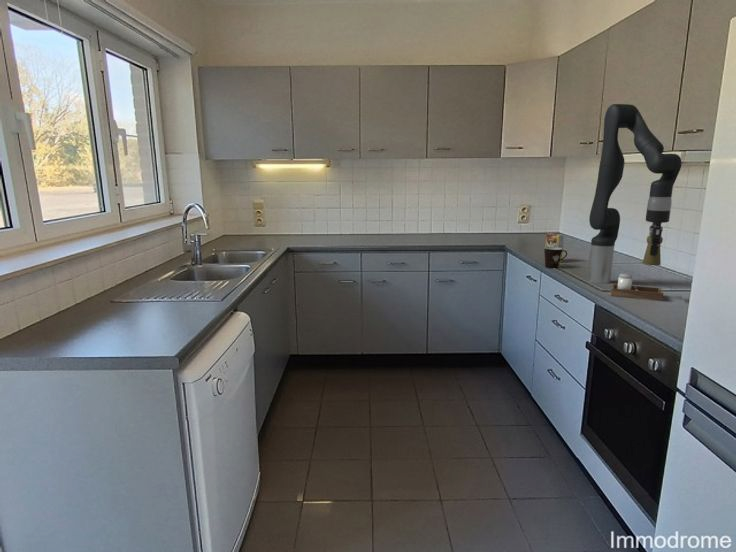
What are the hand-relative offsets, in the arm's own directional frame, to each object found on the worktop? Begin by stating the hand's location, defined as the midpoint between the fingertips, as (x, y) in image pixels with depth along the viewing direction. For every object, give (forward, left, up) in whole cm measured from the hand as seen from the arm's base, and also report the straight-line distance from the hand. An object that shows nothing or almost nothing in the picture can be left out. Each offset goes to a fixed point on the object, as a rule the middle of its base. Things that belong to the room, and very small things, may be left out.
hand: (652, 253), depth 174 cm
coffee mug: (-50, -38, -18) cm, 66 cm away
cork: (0, 0, -4) cm, 4 cm away
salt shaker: (0, -8, -17) cm, 19 cm away
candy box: (-67, -40, -18) cm, 80 cm away
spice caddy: (0, -4, -18) cm, 18 cm away
